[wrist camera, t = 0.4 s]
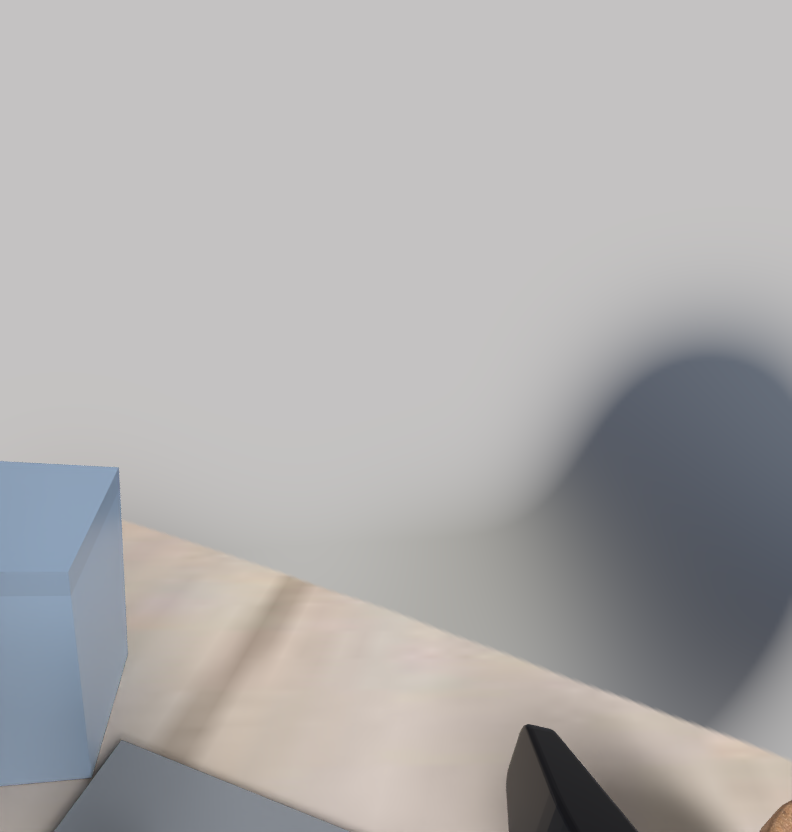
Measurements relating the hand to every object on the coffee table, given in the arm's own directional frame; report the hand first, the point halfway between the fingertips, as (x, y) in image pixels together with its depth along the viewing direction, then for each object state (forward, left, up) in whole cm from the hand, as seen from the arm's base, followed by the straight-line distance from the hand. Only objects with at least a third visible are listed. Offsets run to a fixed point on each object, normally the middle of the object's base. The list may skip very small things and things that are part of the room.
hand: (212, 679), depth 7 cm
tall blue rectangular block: (+6, +11, -17) cm, 21 cm away
